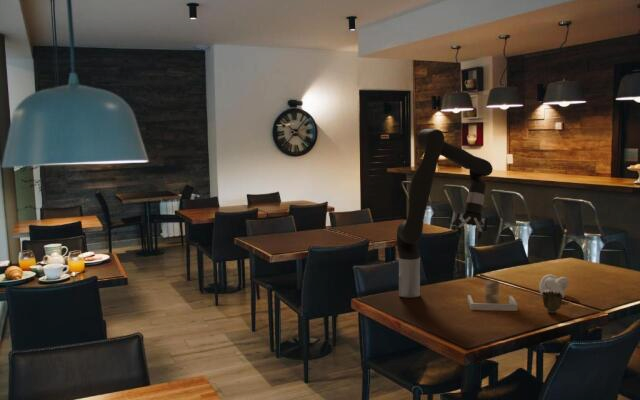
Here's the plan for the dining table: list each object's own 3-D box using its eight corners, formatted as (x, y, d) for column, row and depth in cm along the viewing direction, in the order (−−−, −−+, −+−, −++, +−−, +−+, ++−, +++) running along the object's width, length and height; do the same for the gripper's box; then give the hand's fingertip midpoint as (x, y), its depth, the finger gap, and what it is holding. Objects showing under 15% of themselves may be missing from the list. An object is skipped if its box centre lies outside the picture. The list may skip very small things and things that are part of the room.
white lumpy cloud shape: (534, 296, 252) (534, 276, 251) (544, 291, 261) (545, 271, 260) (560, 301, 244) (560, 280, 243) (570, 295, 253) (571, 275, 252)
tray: (470, 309, 236) (470, 303, 235) (467, 300, 248) (467, 295, 248) (517, 310, 233) (517, 304, 233) (511, 301, 246) (512, 295, 245)
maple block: (486, 306, 239) (486, 283, 238) (484, 303, 244) (484, 280, 243) (498, 307, 238) (498, 283, 237) (496, 303, 243) (497, 280, 242)
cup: (563, 316, 225) (564, 296, 224) (543, 315, 226) (544, 295, 225) (559, 310, 232) (560, 291, 231) (540, 309, 233) (541, 290, 232)
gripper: (459, 199, 261) (453, 234, 260) (491, 205, 259) (485, 240, 257) (458, 201, 269) (451, 235, 267) (489, 207, 266) (483, 241, 264)
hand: (468, 238), depth 262 cm, fingers open, 8 cm apart
